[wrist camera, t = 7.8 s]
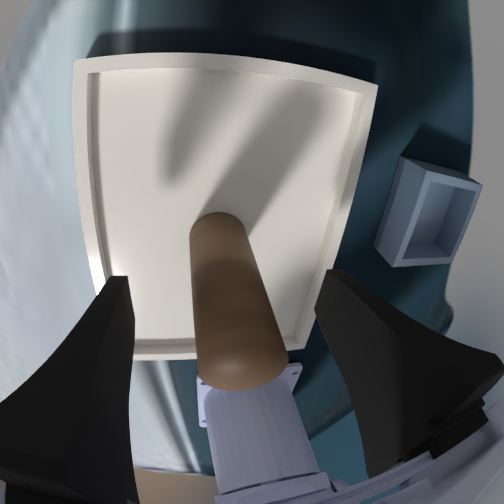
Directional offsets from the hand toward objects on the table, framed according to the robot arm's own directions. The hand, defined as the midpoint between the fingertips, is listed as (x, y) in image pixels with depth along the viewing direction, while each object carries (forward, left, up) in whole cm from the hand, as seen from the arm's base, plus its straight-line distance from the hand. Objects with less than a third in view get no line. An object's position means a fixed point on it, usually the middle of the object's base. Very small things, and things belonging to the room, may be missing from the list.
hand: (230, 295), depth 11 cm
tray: (0, 0, -4) cm, 4 cm away
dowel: (0, 0, -4) cm, 4 cm away
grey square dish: (+2, -12, -4) cm, 13 cm away
